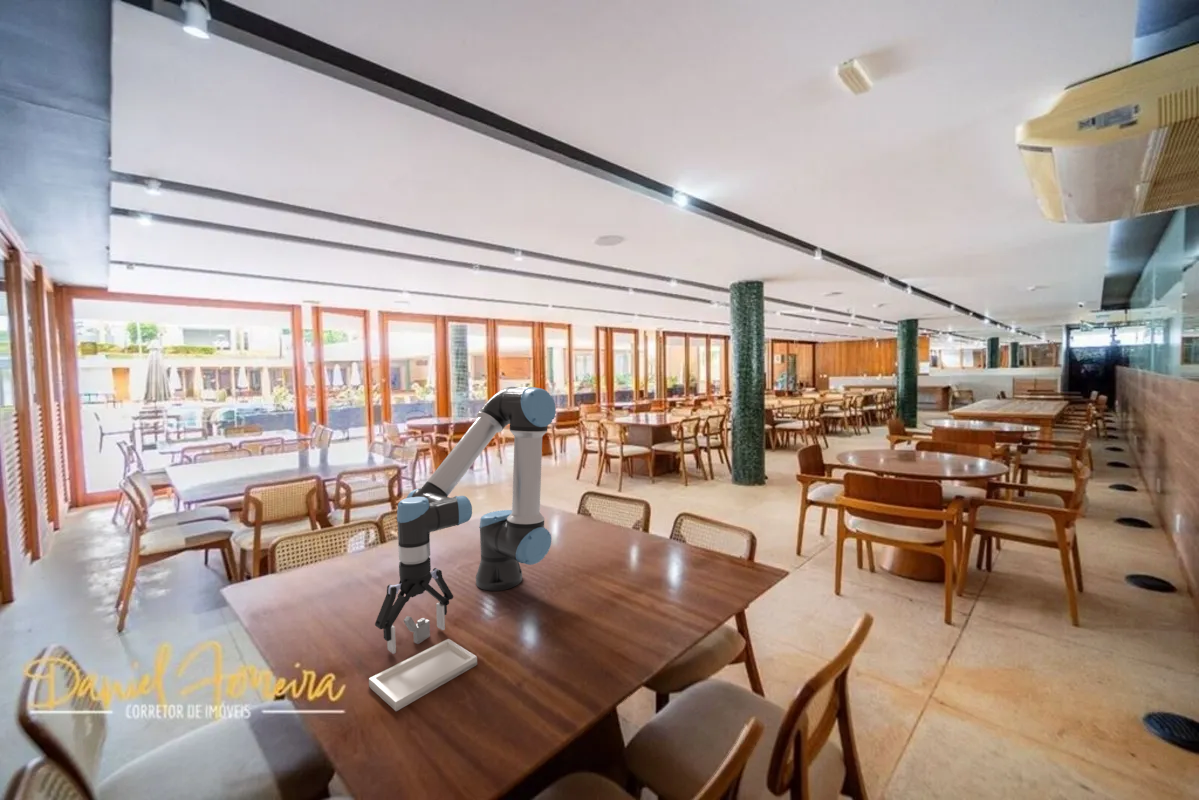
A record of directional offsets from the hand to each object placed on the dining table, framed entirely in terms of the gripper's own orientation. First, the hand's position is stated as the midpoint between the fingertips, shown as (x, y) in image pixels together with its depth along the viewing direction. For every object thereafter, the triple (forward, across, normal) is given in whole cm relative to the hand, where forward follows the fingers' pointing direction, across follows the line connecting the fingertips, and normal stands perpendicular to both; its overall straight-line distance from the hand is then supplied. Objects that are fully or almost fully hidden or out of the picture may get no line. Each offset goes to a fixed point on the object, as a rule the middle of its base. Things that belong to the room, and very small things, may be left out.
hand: (417, 639), depth 123 cm
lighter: (+1, 0, 0) cm, 1 cm away
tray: (+1, +6, +14) cm, 15 cm away
